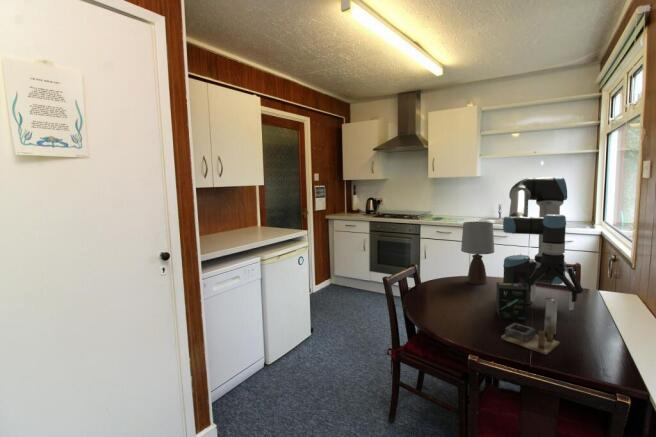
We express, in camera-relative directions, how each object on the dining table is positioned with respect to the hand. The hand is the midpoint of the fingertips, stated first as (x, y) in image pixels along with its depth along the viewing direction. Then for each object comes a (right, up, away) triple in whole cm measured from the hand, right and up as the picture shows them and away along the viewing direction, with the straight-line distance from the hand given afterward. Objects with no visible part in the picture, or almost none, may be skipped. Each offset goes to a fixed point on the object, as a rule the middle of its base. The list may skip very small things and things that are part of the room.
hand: (551, 304), depth 132 cm
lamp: (+2, -5, +70) cm, 71 cm away
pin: (+1, -12, +2) cm, 12 cm away
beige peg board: (-12, -13, -5) cm, 18 cm away
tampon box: (-6, -11, +19) cm, 23 cm away
